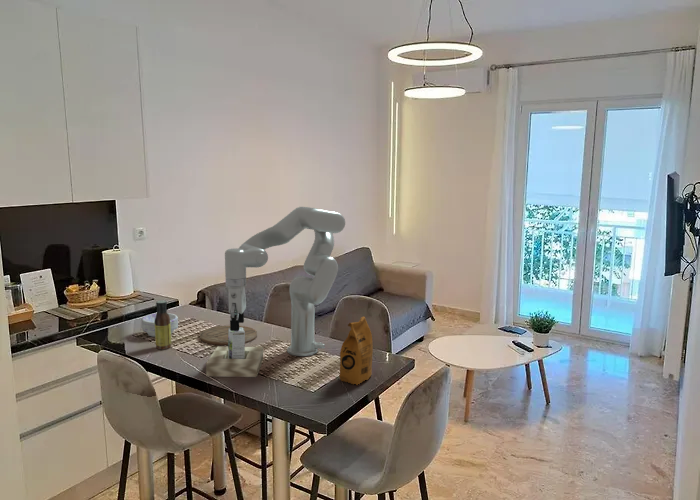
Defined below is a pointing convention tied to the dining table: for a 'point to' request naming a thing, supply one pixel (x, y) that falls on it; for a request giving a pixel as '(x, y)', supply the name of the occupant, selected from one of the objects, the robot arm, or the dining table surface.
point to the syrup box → (236, 344)
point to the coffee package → (357, 353)
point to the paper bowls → (149, 323)
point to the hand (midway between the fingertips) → (237, 326)
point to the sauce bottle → (162, 326)
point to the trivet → (224, 335)
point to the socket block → (235, 363)
